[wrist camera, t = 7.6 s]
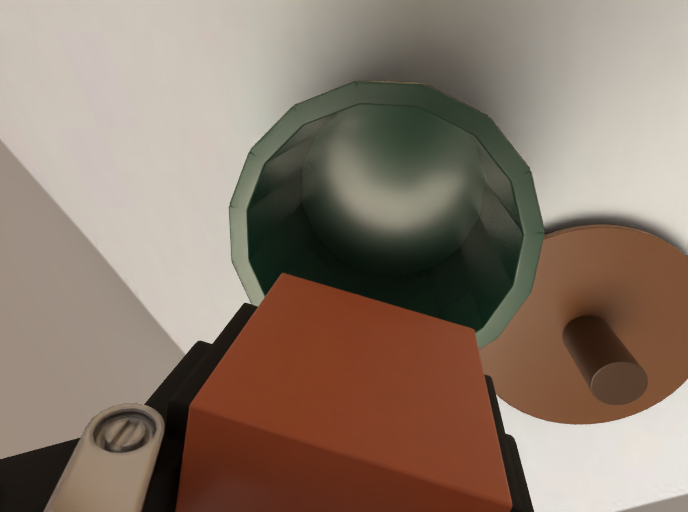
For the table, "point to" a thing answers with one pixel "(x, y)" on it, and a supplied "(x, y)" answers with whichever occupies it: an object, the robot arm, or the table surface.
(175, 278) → the table surface
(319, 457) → the block
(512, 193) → the canister
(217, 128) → the table surface
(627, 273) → the canister lid
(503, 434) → the robot arm
